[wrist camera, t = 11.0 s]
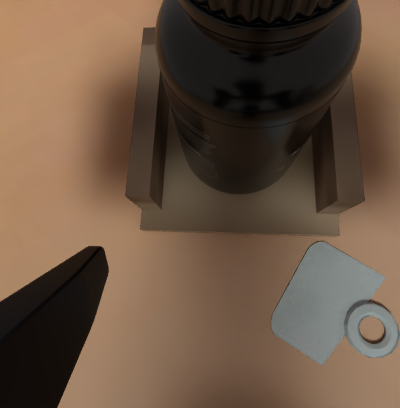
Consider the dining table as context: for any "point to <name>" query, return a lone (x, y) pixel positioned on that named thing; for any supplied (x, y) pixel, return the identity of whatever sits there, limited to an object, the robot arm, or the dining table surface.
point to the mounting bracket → (331, 306)
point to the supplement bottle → (252, 81)
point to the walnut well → (243, 203)
